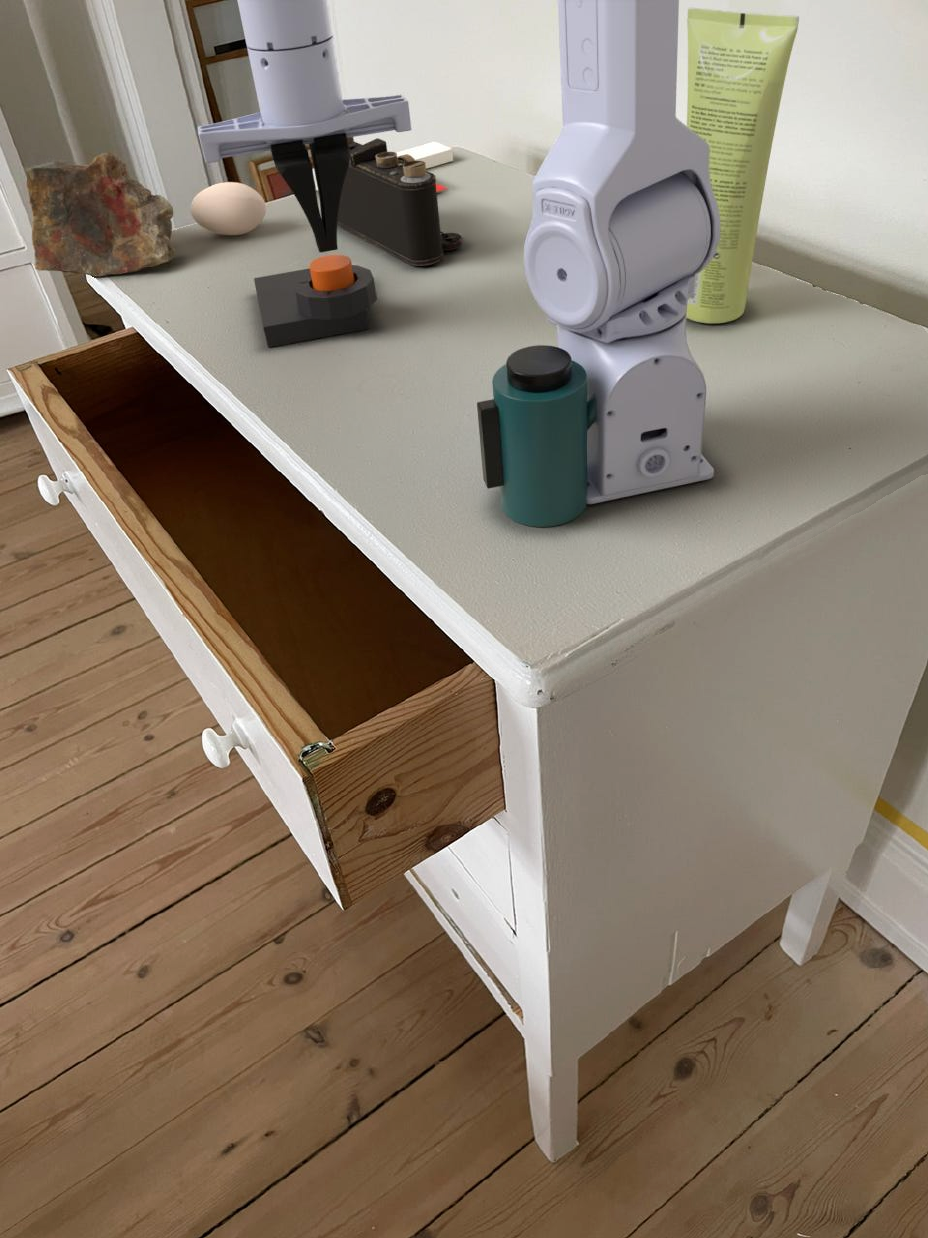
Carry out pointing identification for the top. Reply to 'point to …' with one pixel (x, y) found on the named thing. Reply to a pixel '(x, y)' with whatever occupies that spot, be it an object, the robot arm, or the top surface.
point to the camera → (393, 204)
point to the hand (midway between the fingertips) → (327, 246)
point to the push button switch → (312, 306)
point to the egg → (228, 208)
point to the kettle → (538, 436)
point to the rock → (97, 219)
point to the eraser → (430, 154)
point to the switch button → (331, 272)
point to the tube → (734, 138)
